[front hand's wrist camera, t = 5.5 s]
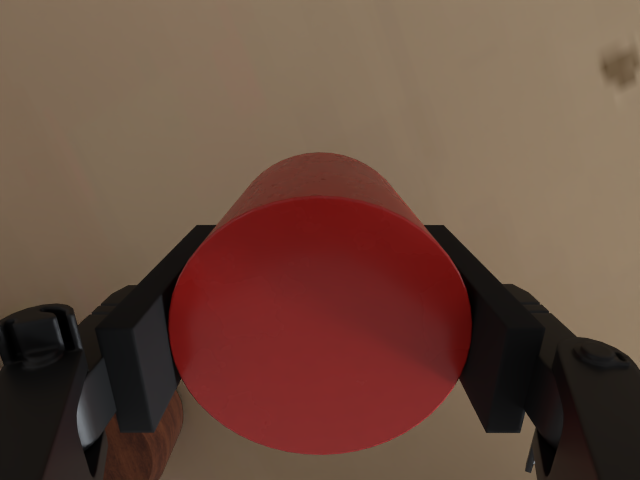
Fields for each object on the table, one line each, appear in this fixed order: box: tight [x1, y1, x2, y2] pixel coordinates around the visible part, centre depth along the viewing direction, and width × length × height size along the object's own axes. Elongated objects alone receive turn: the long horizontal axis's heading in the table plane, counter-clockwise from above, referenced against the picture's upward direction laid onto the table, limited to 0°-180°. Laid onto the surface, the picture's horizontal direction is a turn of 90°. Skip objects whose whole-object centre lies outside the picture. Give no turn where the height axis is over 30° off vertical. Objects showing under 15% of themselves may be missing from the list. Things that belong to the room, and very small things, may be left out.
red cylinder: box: [168, 152, 472, 455], centre depth 12 cm, size 7×7×7 cm
